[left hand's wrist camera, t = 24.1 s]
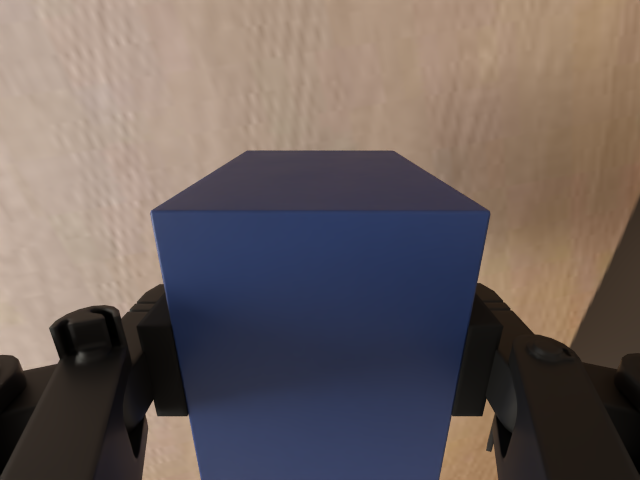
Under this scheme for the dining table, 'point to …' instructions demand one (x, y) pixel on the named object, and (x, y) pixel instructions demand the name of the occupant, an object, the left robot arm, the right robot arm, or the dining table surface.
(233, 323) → the brick
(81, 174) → the dining table surface
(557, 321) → the dining table surface
